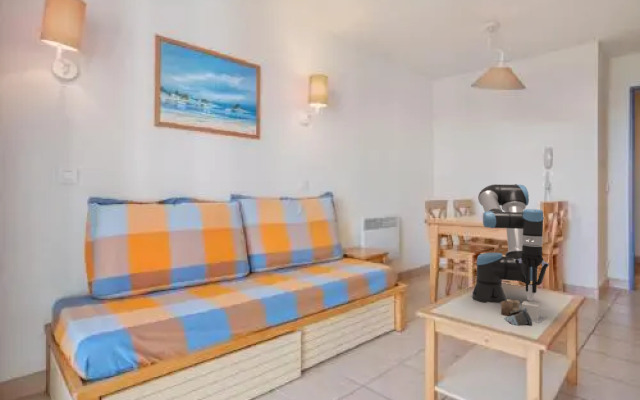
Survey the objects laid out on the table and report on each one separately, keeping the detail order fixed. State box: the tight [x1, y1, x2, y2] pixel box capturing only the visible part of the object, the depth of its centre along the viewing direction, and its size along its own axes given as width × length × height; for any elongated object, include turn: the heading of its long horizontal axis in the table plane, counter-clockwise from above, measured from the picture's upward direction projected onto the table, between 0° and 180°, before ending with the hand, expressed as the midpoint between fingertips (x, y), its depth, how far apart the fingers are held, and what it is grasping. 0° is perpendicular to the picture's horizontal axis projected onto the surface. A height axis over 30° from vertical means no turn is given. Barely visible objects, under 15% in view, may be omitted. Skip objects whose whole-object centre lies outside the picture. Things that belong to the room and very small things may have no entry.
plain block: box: [521, 300, 541, 321], centre depth 159 cm, size 6×6×6 cm
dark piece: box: [503, 308, 533, 327], centre depth 153 cm, size 10×7×12 cm
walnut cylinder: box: [500, 300, 513, 317], centre depth 163 cm, size 4×4×6 cm
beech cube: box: [506, 298, 520, 311], centre depth 168 cm, size 5×5×5 cm
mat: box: [532, 315, 547, 324], centre depth 159 cm, size 10×10×1 cm
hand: (530, 299), depth 159 cm, fingers closed
